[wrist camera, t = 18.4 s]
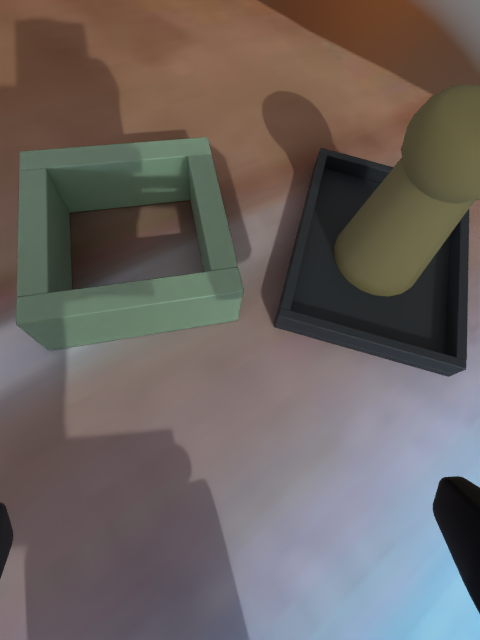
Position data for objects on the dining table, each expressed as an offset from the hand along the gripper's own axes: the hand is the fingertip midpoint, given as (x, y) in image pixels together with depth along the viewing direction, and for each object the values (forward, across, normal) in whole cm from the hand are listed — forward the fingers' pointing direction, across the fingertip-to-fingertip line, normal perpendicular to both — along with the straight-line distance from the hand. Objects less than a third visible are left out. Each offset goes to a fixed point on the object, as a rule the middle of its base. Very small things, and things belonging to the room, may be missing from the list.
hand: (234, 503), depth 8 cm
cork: (+18, -11, -1) cm, 22 cm away
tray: (+19, -11, -1) cm, 22 cm away
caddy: (+19, +5, -1) cm, 20 cm away
